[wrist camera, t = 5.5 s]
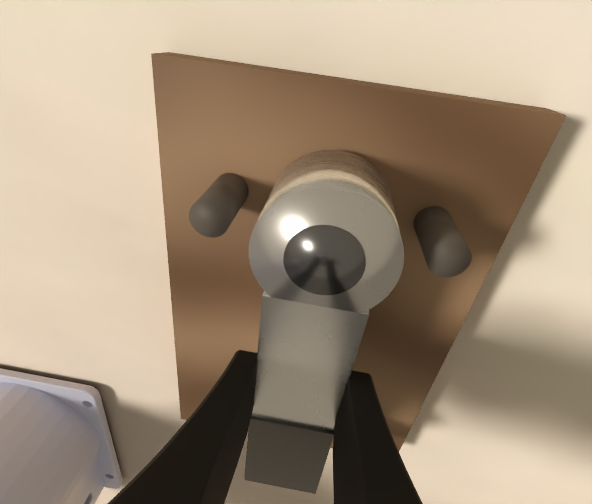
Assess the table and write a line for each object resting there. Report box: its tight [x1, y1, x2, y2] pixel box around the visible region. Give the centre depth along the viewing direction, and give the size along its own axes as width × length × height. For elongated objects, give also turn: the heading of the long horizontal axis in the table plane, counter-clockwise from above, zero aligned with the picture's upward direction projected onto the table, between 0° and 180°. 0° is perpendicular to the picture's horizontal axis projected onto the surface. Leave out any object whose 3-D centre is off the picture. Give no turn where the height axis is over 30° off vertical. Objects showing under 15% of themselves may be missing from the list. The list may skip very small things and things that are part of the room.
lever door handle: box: [245, 150, 404, 494], centre depth 11 cm, size 12×3×3 cm, turn 173°
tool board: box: [152, 52, 566, 452], centre depth 12 cm, size 15×10×3 cm, turn 173°
